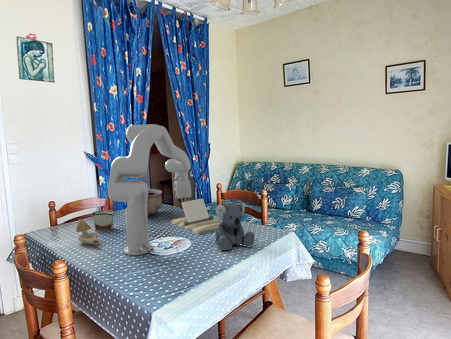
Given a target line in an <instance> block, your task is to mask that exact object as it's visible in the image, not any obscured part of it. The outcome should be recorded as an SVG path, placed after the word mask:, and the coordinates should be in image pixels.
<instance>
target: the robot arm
mask: <svg viewBox="0 0 451 339" xmlns="http://www.w3.org/2000/svg"><path fill="white" fill-rule="evenodd" d="M170 136H171V135H170V134H169V132H168V130H167V128H166V127H165V126H163V125H159V124H154V123H153V124H133V125H129V126H128V127H127V128H126V131H125V137H126V139H127V140H128V142H130V143H131V145H130V150H129V154H128V156H118V157H116V158H115V159H114V160H113V161H112V162H111V166H110V172H109V178H108V185H107V195H108V198H109V199H110V200H111V201H113V202H122V203H127V202H129V205H127V207H126V208H125V211H124V218H125V220H124V221H125V234H126V246H125V247H124V248H123V253H124V254H125V255H129V256H139V255H141V256H142V255H145V254H148V253H149V252H148V251H150V250H151V249H152V248H153V249H154V247H153V244H151V243H150V238H149V235H150V234H149V221H148V220H149V219H148V215H147V198H148V189H149V186H148V184H147V183H145V181H142V180H137V179H138V178H144V177H145V176H146V175H147V172H148V169H149V168H148V167H149V159H150V151H151V148H152V147H153V145H154V144H155V146H156V148H157V150H158V151H159V153H160V154H161V155H162V156H164V157H167V158H169V159H167V160H166V162H165V164H164V168H165V171H167V172H169V173H174V177H173V181H174V182H173V197H174V199H173V200H174V201H177V202H178V203H179V207H180V209H181V210H183V207H182V204H181V203H182V202H186V201H188V200H189V199H191V196H192V187H191V182H190V180H189V171H190V170H191V167H192V166H191V161H190V159H189V156H188V154H187V153H186V152H185V151H184V150H182V149H181V148H180V147H178V146H177V145H175V144H174V142H173V140H172V138H171V137H170ZM126 178H129V179H128V180H127V179H126ZM130 178H135V179H136V180H135V179H130ZM153 249H152V250H153ZM152 250H151V251H152ZM151 251H150V252H151Z"/></svg>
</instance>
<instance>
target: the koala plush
mask: <svg viewBox="0 0 451 339" xmlns="http://www.w3.org/2000/svg"><path fill="white" fill-rule="evenodd" d="M246 206H247V205H246V202H240V203H239V204H227V205H225V204H220V203H219V204H218V205H217V206H216V207H215V209H214V210H215V215H216V216H217V217H218V220H220V221H221V220H222V222H221V223H220V224H219V225H218V229H217V230H215V234H214V235H215V241H214V242H215V245H217V246H218V249H219V250H220V249H221V250H220V251H222V250H224V251H223V252H226V251H225V250H229V251H231V250H232V249H231V248H233V246H234V245H236V246H239V245H240V244H242V245H246V246H251V245H253V246H254V244H255V241H256V240H255V238H256V237H255V236H256V235H255V232H254V231H251V230H250V231H247V232H246V233H245V231H244V228H243V225H242V224H241V223H242V217H243V216H244V213H245V211H246V209H245V208H246ZM230 249H231V250H230Z"/></svg>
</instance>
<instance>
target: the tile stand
mask: <svg viewBox="0 0 451 339" xmlns="http://www.w3.org/2000/svg"><path fill="white" fill-rule="evenodd" d="M209 218H210V219H208V220H204V221H200V222H196V223H192V224H188V222H187V220H186V217H185V216H182V217H177V218H175V219H170V220H169V221H170V224H172V225H175V226H177V227H180V228H183V229H185V230H187V231H189V232H191V231H192V232H191V233H194V234H196V233H197V234H196V235H198V234H200V235H203V234H202V233H204V234H206V233H205V232H208V233H210V232H209V231H211V232H213V231H212V230H215V229H218V225H219V224H220V223H221V222H223V220H222V221H221V220H220V219H215V218H214V216H213V215H209ZM215 231H216V230H215Z"/></svg>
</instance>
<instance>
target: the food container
mask: <svg viewBox="0 0 451 339" xmlns="http://www.w3.org/2000/svg"><path fill="white" fill-rule="evenodd" d="M91 216H92V219H93V224H94V230H95V231H113V228H114V216H115V211H114V210H112V209H102V210H101V209H100V210H96V211H92V213H91Z"/></svg>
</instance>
